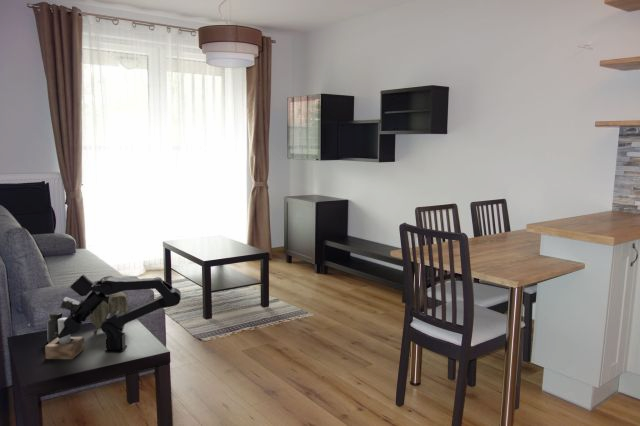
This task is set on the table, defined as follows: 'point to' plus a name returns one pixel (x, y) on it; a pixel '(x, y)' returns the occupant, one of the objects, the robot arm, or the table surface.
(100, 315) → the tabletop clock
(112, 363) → the table surface
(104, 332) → the robot arm
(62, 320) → the peg
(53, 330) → the supplement bottle
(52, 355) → the socket block
